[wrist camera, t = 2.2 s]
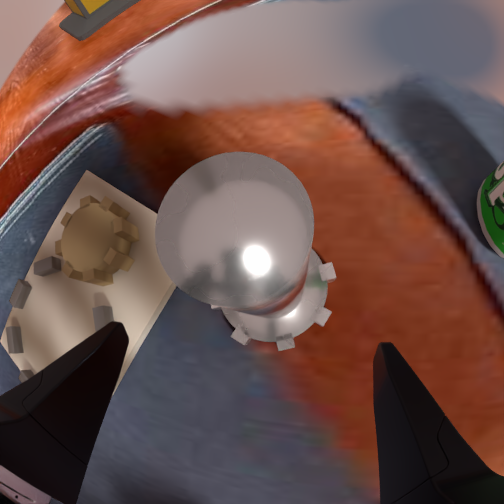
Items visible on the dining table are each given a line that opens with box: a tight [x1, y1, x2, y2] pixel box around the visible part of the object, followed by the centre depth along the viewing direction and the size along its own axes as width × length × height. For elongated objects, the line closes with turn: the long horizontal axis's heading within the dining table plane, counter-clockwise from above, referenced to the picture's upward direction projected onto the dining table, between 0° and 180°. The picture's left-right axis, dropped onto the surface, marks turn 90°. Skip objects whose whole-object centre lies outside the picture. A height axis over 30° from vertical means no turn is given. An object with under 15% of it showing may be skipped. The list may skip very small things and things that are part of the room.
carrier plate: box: [0, 170, 176, 398], centre depth 21 cm, size 19×13×4 cm
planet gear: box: [155, 152, 336, 351], centre depth 14 cm, size 8×8×14 cm
